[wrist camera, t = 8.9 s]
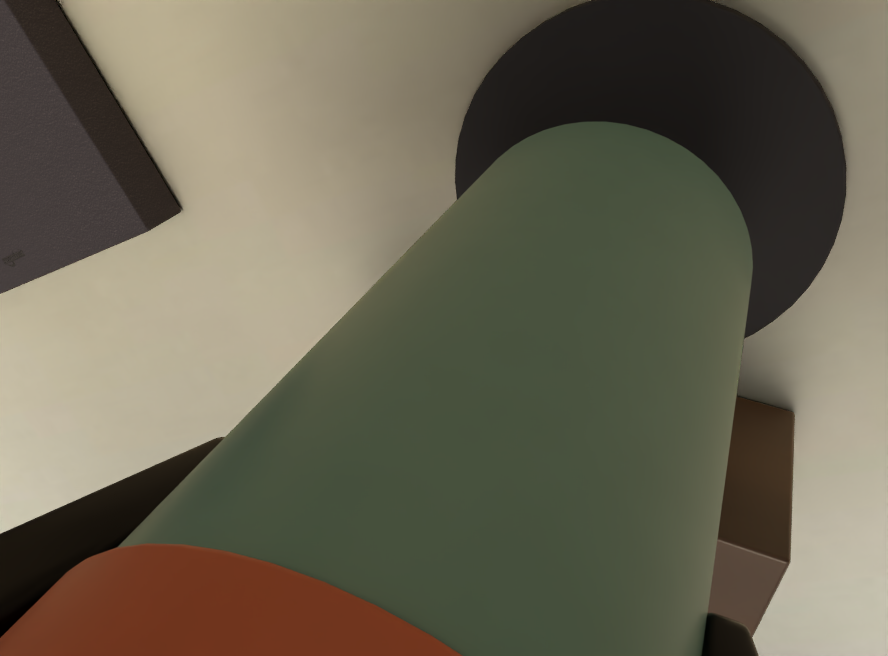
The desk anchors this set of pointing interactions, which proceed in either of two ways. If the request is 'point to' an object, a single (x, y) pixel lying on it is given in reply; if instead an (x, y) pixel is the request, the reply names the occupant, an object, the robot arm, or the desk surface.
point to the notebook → (64, 152)
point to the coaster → (684, 118)
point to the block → (754, 513)
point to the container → (469, 441)
